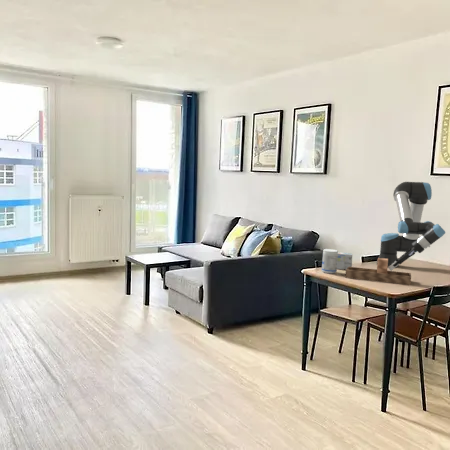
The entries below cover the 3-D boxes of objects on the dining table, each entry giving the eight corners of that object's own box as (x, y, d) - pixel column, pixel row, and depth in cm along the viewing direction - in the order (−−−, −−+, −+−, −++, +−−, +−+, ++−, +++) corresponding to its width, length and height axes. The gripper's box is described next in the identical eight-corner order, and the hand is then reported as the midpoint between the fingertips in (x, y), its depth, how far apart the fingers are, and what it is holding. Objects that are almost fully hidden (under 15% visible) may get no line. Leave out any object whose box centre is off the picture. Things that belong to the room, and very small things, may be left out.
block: (387, 274, 298) (388, 258, 297) (386, 276, 292) (387, 260, 291) (377, 273, 300) (378, 257, 299) (376, 275, 294) (377, 259, 293)
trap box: (410, 280, 297) (410, 273, 296) (410, 284, 285) (411, 276, 285) (347, 274, 310) (348, 266, 309) (345, 277, 298) (346, 269, 298)
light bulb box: (350, 268, 330) (351, 252, 329) (351, 270, 323) (352, 254, 322) (334, 267, 331) (335, 252, 330) (335, 269, 324) (336, 253, 323)
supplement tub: (319, 270, 317) (321, 248, 316) (333, 270, 318) (335, 249, 317) (324, 273, 308) (325, 251, 306) (338, 274, 309) (340, 251, 307)
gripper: (425, 250, 280) (393, 275, 287) (424, 247, 292) (393, 271, 299) (416, 241, 281) (384, 266, 288) (415, 238, 293) (385, 262, 301)
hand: (389, 269), depth 294 cm, fingers closed
